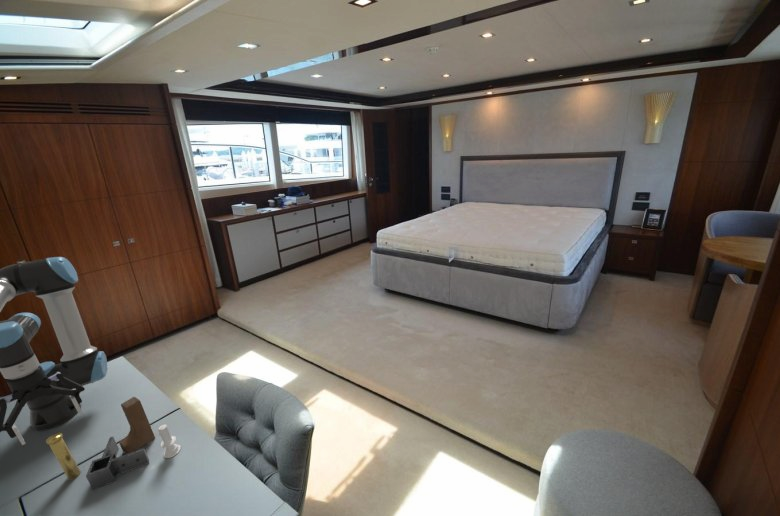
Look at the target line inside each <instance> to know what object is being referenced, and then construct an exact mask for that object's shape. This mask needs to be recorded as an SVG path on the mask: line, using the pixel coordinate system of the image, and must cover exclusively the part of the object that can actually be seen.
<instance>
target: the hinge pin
mask: <svg viewBox="0 0 780 516" xmlns="http://www.w3.org/2000/svg"><path fill="white" fill-rule="evenodd" d="M63 435H64V434H63V433H62V432H57V433H54V434H52V435H50V436H49V437H48V438H46V440H45V443H46V445H49V447H50V449H51V451H52V453H53V455H54V456H55V458H56V460H57V461H58V463H59V466H61V468H62V470H63V472H64V474H65V476H66V478H67V479H68V480H69V481H70V480H73V479H76V478H77V477H78V476H80V474H81V470H80V468H79V466H78V464H77V463H76V461H75V458H74V457H73V455H72V453H71V451H70V449H69V448H68V446H67V444H66V441H65V440H64V439H63Z"/></svg>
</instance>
